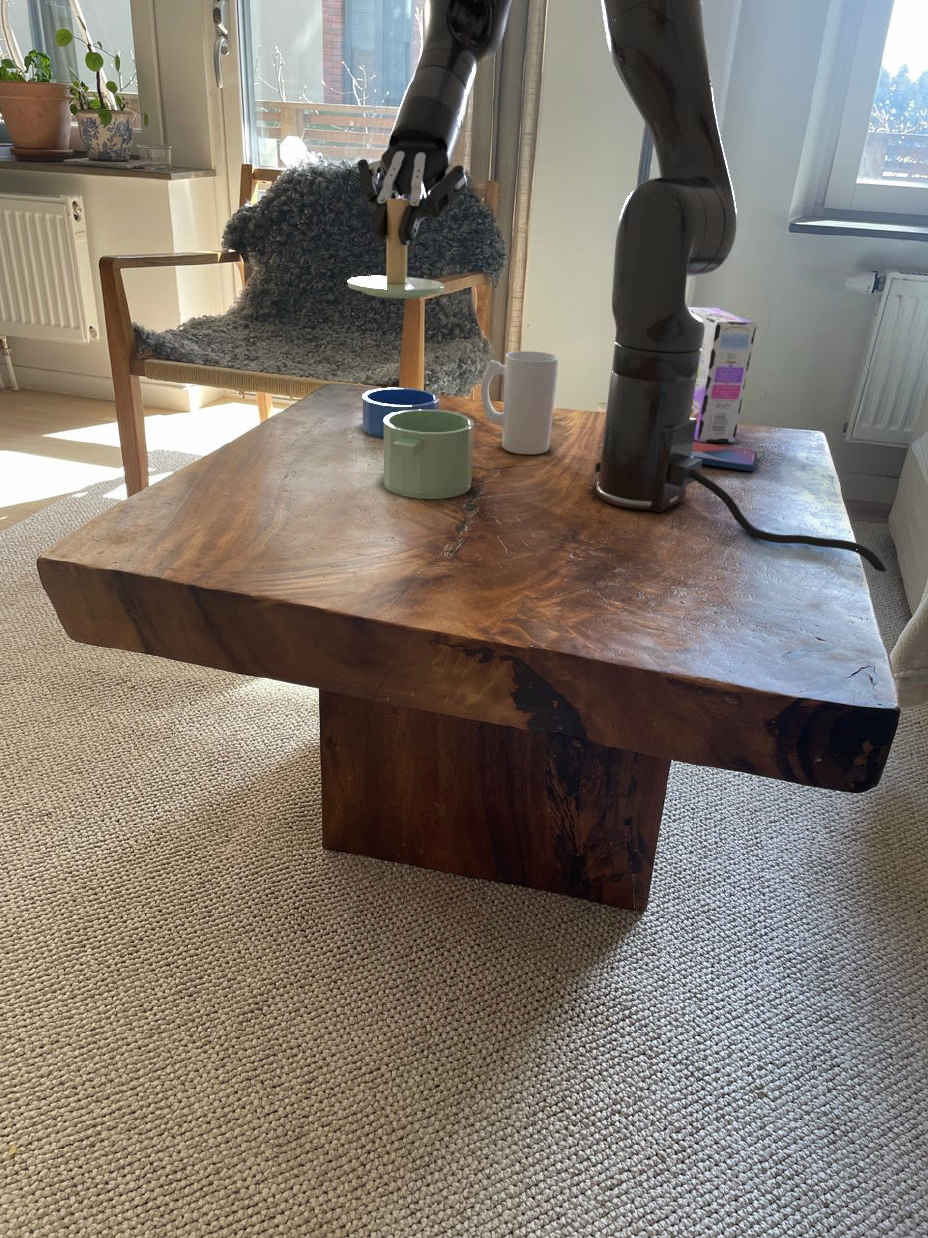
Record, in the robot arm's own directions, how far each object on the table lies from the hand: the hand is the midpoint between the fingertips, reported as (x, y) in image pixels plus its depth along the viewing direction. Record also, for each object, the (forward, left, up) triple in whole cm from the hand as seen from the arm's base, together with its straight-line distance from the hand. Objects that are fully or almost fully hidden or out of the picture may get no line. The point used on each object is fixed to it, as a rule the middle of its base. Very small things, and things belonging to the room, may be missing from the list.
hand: (390, 238), depth 101 cm
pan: (+8, -11, -26) cm, 29 cm away
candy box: (-22, -43, -26) cm, 54 cm away
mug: (-8, -16, -26) cm, 31 cm away
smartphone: (-28, -30, -26) cm, 48 cm away
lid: (+1, -2, -6) cm, 6 cm away
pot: (-10, +4, -26) cm, 28 cm away
